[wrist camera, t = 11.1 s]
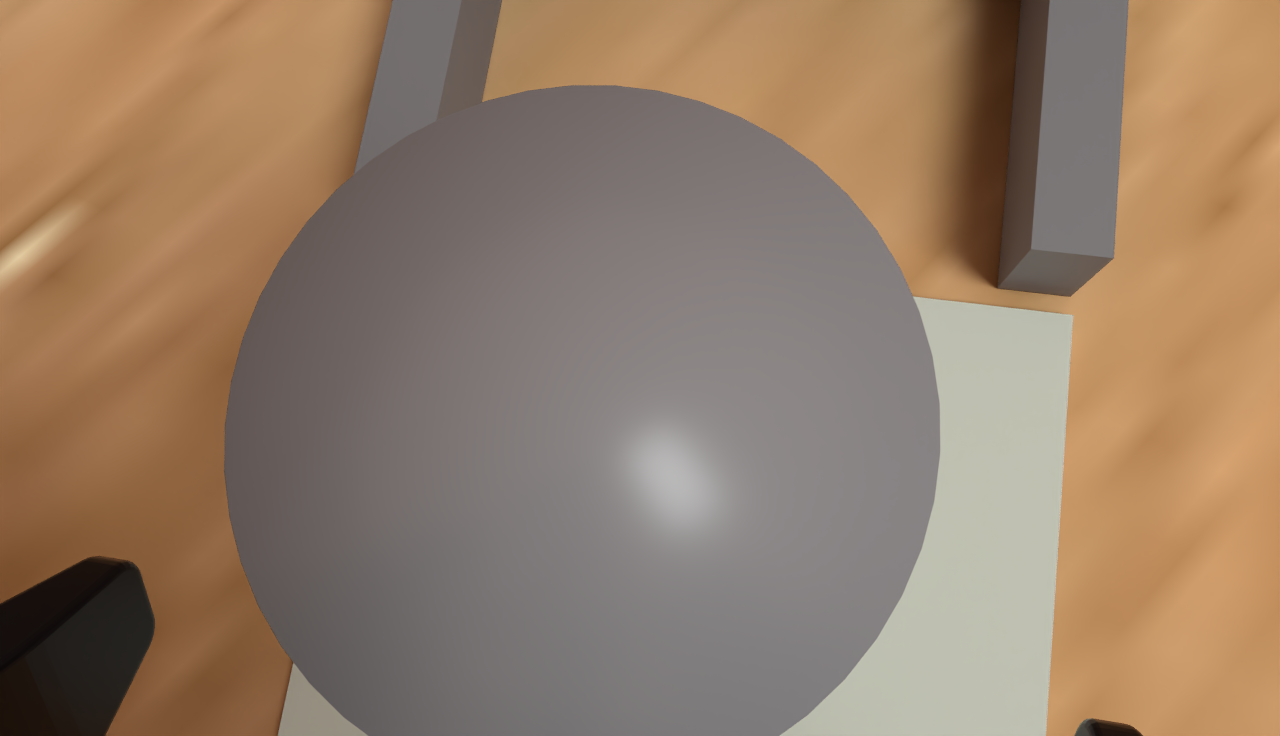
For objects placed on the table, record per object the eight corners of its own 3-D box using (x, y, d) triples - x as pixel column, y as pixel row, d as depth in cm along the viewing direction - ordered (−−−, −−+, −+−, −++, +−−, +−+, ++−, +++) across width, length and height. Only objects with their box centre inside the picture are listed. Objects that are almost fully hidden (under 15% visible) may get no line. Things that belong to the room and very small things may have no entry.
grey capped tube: (845, 597, 20) (1080, 609, 6) (616, 699, 20) (358, 930, 6) (741, 374, 21) (749, -19, 8) (525, 470, 21) (141, 252, 8)
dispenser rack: (1070, 296, 21) (1162, 214, 17) (394, 219, 23) (308, 127, 18) (1093, -58, 23) (1183, -221, 18) (462, -103, 25) (400, -260, 20)
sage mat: (1031, 878, 19) (1036, 883, 18) (282, 740, 21) (276, 742, 20) (1068, 318, 21) (1072, 315, 21) (389, 240, 23) (384, 235, 23)
